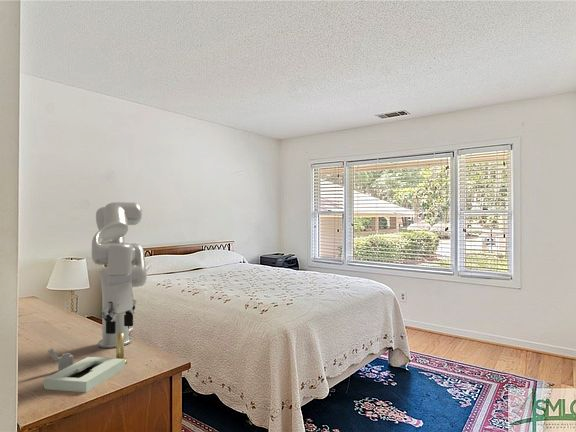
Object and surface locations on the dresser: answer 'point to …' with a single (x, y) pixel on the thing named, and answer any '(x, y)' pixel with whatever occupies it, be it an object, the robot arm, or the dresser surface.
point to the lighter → (62, 359)
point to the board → (96, 376)
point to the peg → (120, 347)
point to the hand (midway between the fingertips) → (120, 329)
